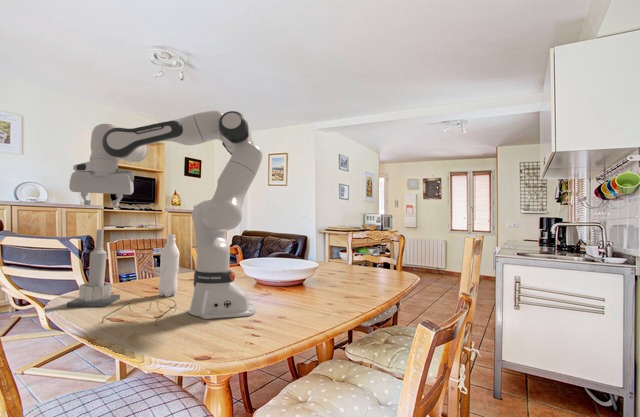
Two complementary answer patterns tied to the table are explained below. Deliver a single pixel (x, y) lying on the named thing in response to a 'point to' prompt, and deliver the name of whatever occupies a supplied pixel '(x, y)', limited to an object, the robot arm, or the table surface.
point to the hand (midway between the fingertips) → (101, 205)
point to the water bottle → (169, 268)
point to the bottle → (97, 263)
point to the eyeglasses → (146, 310)
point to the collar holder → (94, 296)
